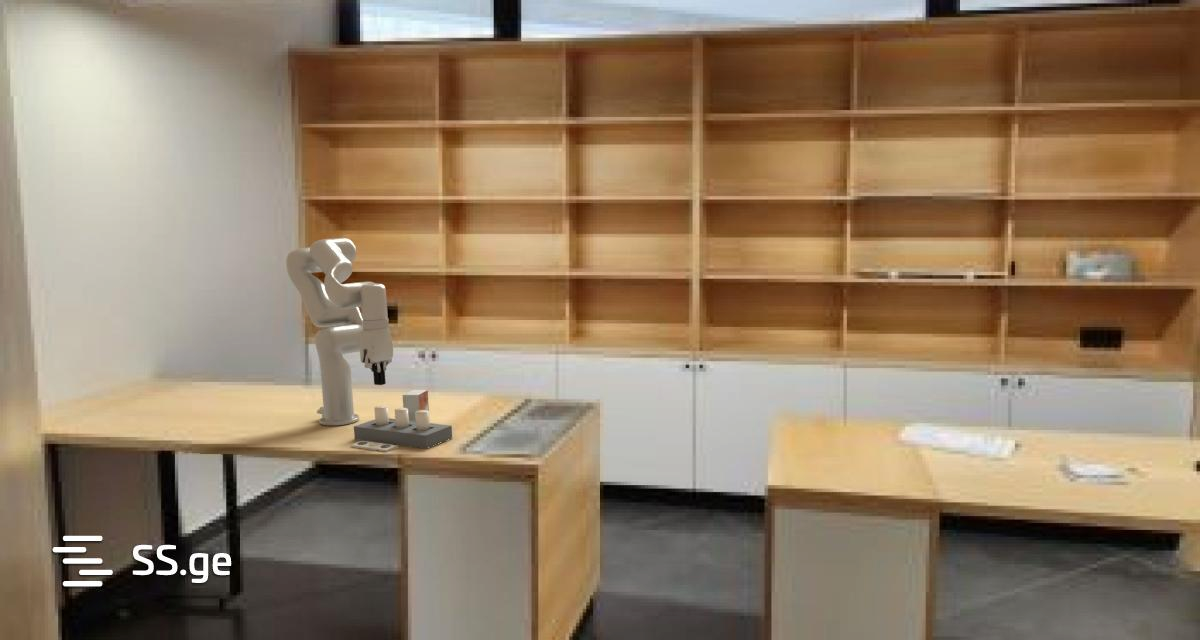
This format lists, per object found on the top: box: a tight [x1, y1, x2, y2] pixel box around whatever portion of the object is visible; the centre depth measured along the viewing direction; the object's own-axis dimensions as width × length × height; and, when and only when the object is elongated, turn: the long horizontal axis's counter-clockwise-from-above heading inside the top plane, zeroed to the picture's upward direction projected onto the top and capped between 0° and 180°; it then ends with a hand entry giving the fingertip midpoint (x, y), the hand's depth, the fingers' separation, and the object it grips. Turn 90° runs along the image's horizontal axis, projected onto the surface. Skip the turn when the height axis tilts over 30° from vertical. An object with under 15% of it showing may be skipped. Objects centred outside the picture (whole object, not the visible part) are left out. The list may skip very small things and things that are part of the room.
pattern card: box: [349, 440, 399, 452], centre depth 273 cm, size 14×5×1 cm, turn 61°
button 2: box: [394, 407, 409, 429], centre depth 280 cm, size 4×4×7 cm
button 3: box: [415, 410, 431, 431], centre depth 276 cm, size 4×4×7 cm
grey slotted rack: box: [353, 417, 453, 449], centre depth 281 cm, size 28×12×4 cm, turn 61°
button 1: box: [374, 405, 390, 426], centre depth 284 cm, size 4×4×7 cm
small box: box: [402, 389, 430, 421], centre depth 298 cm, size 8×6×10 cm
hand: (379, 384), depth 282 cm, fingers closed
